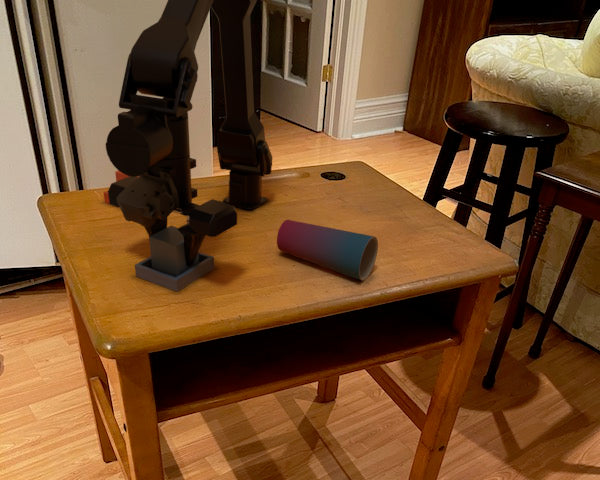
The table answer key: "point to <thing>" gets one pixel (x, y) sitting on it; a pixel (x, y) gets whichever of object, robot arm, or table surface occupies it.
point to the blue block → (169, 252)
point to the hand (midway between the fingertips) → (175, 260)
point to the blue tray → (172, 282)
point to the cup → (329, 247)
